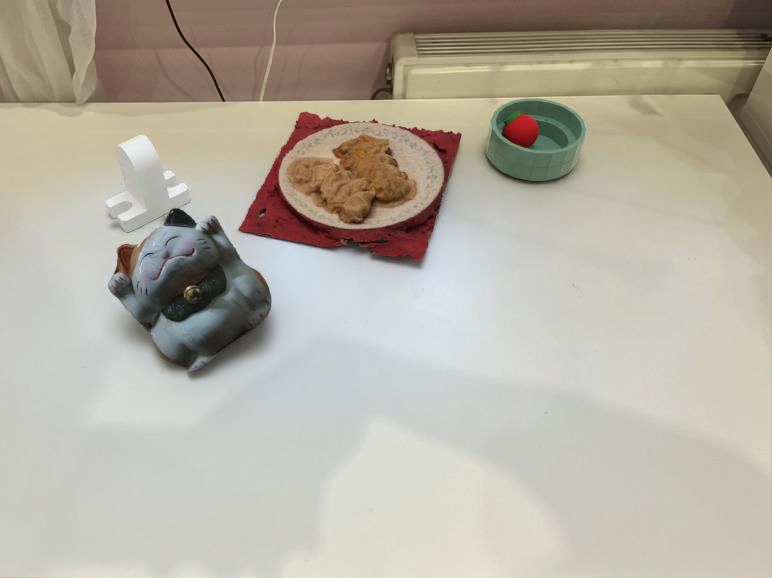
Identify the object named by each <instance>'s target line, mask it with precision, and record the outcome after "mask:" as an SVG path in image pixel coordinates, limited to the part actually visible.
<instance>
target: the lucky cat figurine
mask: <svg viewBox="0 0 772 578" xmlns="http://www.w3.org/2000/svg"><path fill="white" fill-rule="evenodd" d="M116 255H117V259H116V267H115V269H114V272H113V274H112V276H111V277H110V280H109V281H108V282H107V287H108V289H109V292H110V293H111V295H113V296H114V297H115V298H117V299H118V300H119V302H120V303H121V304H122V306H123V307H124V308H125V310H126V311H128V312H129V313H130V315H131V317H132V318H133V319H135V320H136V321H137V322H138V323H139V325H141V326H142V327H143V328H144V330H145V332H147V333H148V335H149V336H150V337H151V339H152V341H153V343H154V346H155V348H156V350H157V352H158V354H159V355H160V357H162V358H163V359H164V360H166V361H167V362H169V363H172V364H175V365H178V366H180V367H182V368H185V369H187V373H190V372H191V373H192V372H194V371H196V370H198V369H201V368H203V367H205V366H206V365H208V364H209V362H211V361H212V360H213V359H214V358H215V357H216V356H218V354H220V353H221V352H222V351H223V350H225V349H226V348H227V347H229V346H231V345H233V343H235V342H237V341H238V340H240V339H241V338H243V337H244V336H246V335H248V334H249V333H251V332H252V331H253V330H255V329H256V328H257V327H259V326H260V325H261V324H262V323H263V322H264V320H265V319H266V318H268V316H269V314H270V312H271V309H272V301H273V300H272V293H271V290H270V287H269V284H268V282H267V280H266V279H265V277H264V276H263V275H262V273H261V272H260V271H258V270H257V269H256V268H254V267H251V266H249V265H248V264H247V263H246V262H245V261H243V259H242V258H241V256H240V255H239V253H238V250H237V248H236V247H235V246H234V244H233V242H232V241H231V240H230V238H229V237H228V236H227V234H226V233H225V230H224V228H223V227H222V225H221V223H220V221H219V219H218V218H217V217H216V216H215V215H212V214H210V215H207V216H205V217H204V218H203V219H201V220H200V221H198V222H196V220H195V219H194V218H193V217H192V216H191V215H190V214H188V212H186V211H185V210H183V209H181V208H180V207H178V208H173V209H171V210H170V212H169V213H167V216H166V218H165V219H164V221H163V223H162V224H161V226H159V227H158V228H156V229H154V230H152V232H151V233H150V234H149V235H148V236H146V238H144V239H143V241H141V243H140V244H138V243H137V244H130V243H123V244H121V245H119V246H118V247H117V248H116Z"/></svg>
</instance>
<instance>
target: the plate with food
mask: <svg viewBox="0 0 772 578" xmlns="http://www.w3.org/2000/svg"><path fill="white" fill-rule="evenodd" d="M462 135H463V134H462V133H460V131H457V133H455V132H453V131H452V130H450V131H444V130H443V129H436V130H430V129H425V128H423V127H422V128H421V129H420V128H418V127H417V126H414V127H412V128H411V127H406V126H401V125H398V126H396V123H393V124H386V123H379V121H378V120H376V119H375V118H373V119H372V120H368V121H365V120H363V121H358V120H356V121H349V120H344V119H343V118H341V119H334V118H331V117H329V116H328V115H327V116H325V117H324V118H323V119H322V118H321V117H320V116H319V115H318V114H317V113H312V112H308V111H302V112H299V115H298V118H297V120H295V124H294V129H293V130H292V132H291V134H290V136H289V138H288V140H287V141H286V143H285V144H283V145H282V146H281V148H280V150H279V154H278V156H277V157H275V158H274V161H273V164H272V166H271V168H270V169H269V172H268V173H267V175H266V178H265V179H264V182H263V184H261V185H260V188H259V189H258V191H257V192H256V195H255V198H254V200H253V201H252V202H251V204H250V207H248V209H247V213H246V214H245V217H244V219H243V221H242V223H241V224H240V225H239V227H238V231H243V232H244V233H251V234H256V235H259V236H262V235H264V234H265V235H269V236H270V237H271V238H273V239H279V240H280V239H281V240H283V241H286V240H287V241H291V242H292V241H293V242H296V243H297V242H298V243H304V244H308V245H309V244H310V245H313V246H320V247H324V248H336V247H338V246H346V245H348V241H349V240H350V239H351V241H353V242H355V243H358V245H359V247H360V248H361V247H362V248H367V247H370V248H369V249H370V250H369V252H370V254H376V255H381V256H383V257H388V256H389V257H391V258H396V257H399V256H401V257H403V258H405V257H406V256H410V257H411V258H412V259H413V260H414V261H418V260H419V261H420V260H422V259H423V258H424V257H425V255H426V252H427V249H428V248H429V238H430V234H431V233H433V232H434V229H435V227H434V226H436V225H435V224H436V221H437V217H438V214H439V211H440V207H441V205H442V202H443V200H444V197H445V196H444V191H445V187H447V186H448V183H449V180H450V176H451V172H452V169H453V165H454V162H455V159H456V156H457V153H458V151H459V147H460V143H461V140H462V137H463V136H462ZM264 209H265V214H264V215H261V216H260V212H261V211H262V210H264ZM378 240H379V241H380V242H381V241H383V240H384V241H385V242H381V243H379V242H377V243H376V241H378ZM387 241H388V242H387Z"/></svg>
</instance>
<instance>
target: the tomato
mask: <svg viewBox="0 0 772 578" xmlns="http://www.w3.org/2000/svg"><path fill="white" fill-rule="evenodd" d="M503 122H504V124H505V125H506V126H505V128H504V138H506V139H507V140H508V141H510V142H511V143H514V144H516V145H518V146H521V147H523V148H528V147H530V146H531V145H533V144H534V143H535V141H536V140H537V138H538V134H539V127H538V124H537V122H536V120H535V119H534V118H533V117H531V116H529V115H525V114H521V113H520V112H519V111H516V112H515V113H513V114H512V115H510V116H509V117H508V118H506V119H505V120H504V121H503Z"/></svg>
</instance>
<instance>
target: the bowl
mask: <svg viewBox="0 0 772 578" xmlns="http://www.w3.org/2000/svg"><path fill="white" fill-rule="evenodd" d="M516 111H519V112H520V113H521V114H525V115H529V116H531V117H533V118H534V119H535V120H536V122H537V124H538V127H539V134H538V138H537V140H536V141H535V143H534V144H533V145H531V146H530V147H528V148H523V147H521V146H518V145H516V144H514V143H511V142H510V141H508V140H507V139H506V138H504V128H505V126H506V125H505V124H504V122H503V121H504V120H505V119H506V118H508V117H509V116H510V115H512V114H513V113H515V112H516ZM587 131H588V130H587V126H586V122H585V120H584V119H583V118H582V116H581V115H580V114H579V113H578V112H577V111H576V110H574V109H573V108H572V107H569V106H568V105H565V104H563V103H560V102H558V101H555V100H550V99H545V98H538V97H537V98H536V97H535V98H529V97H528V98H527V97H526V98H519V99H513V100H511V101H508V102H506V103H504V104H502V105H500V106H499V107H498V108H497V109H496V110H495V111H494V112H493V114H492V117H491V119H490V123H489V127H488V133H487V137H486V142H485V143H486V144H485V154H486V157H487V159H488V161H489V162H490V163H491V164H492V165H493V167H495V168H496V169H498V170H499V171H500V172H502V173H504V174H506V175H507V176H510V177H512V178H516V179H520V180H525V181H531V182H532V181H533V182H537V181H538V182H545V181H550V180H551V181H552V180H555V179H560V178H561V177H563V176H565V175H567V174H569V173H570V172H571V171H572V170H573V169H574V168H575V167H576V165H577V162H578V159H579V156H580V154H581V151H582V147H583V145H584V141H585V139H586V135H587Z"/></svg>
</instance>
